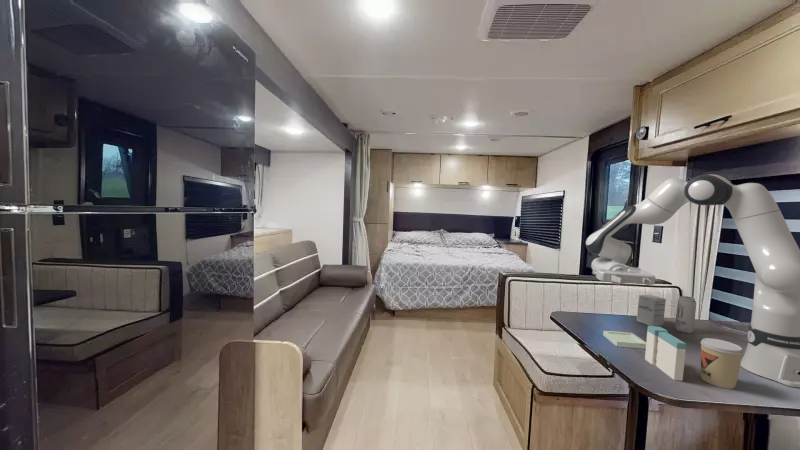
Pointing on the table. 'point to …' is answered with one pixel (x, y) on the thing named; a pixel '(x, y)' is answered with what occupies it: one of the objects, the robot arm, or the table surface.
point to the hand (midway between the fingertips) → (635, 281)
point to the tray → (625, 339)
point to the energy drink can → (686, 314)
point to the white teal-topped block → (652, 343)
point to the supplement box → (651, 310)
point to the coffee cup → (720, 362)
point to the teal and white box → (670, 355)
